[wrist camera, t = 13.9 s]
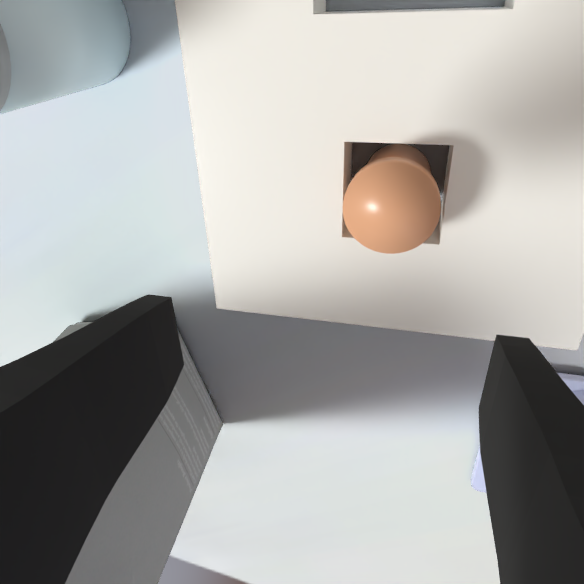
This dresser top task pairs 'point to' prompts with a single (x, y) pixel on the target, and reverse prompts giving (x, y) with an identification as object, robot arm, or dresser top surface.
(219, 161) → the housing
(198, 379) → the skincare box
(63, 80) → the cup
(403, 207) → the tan round piece
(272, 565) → the dresser top surface
